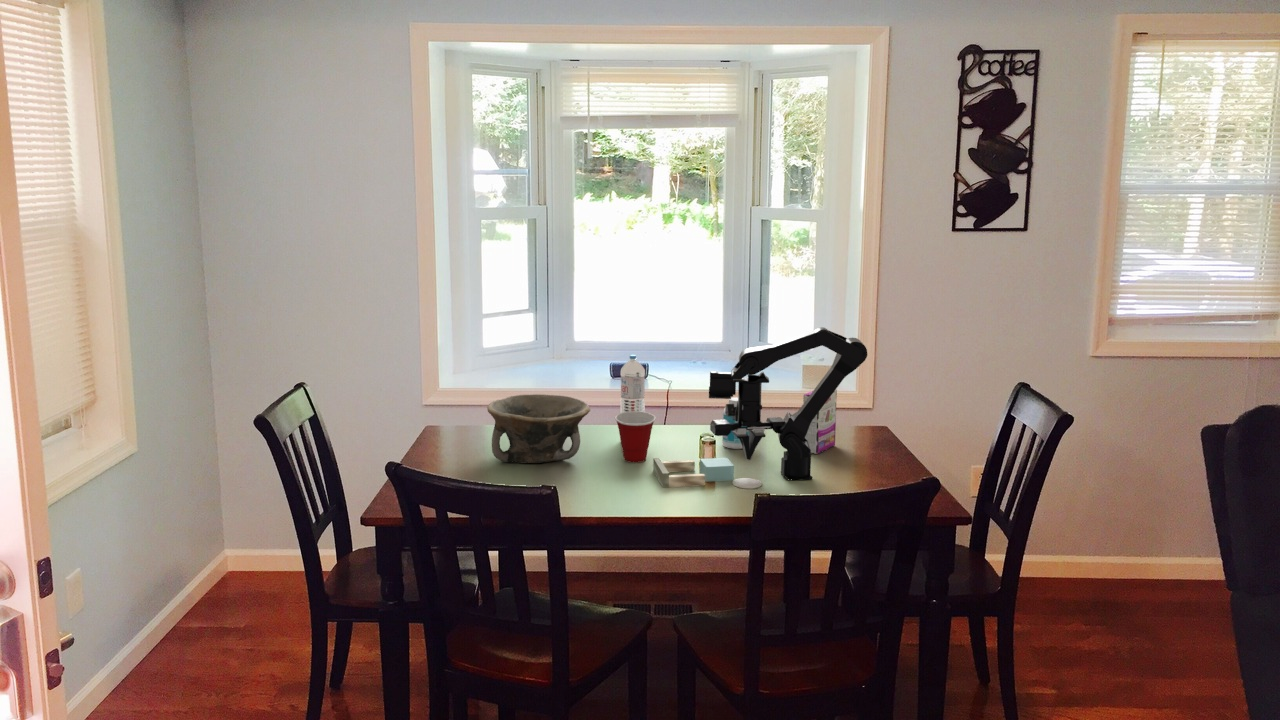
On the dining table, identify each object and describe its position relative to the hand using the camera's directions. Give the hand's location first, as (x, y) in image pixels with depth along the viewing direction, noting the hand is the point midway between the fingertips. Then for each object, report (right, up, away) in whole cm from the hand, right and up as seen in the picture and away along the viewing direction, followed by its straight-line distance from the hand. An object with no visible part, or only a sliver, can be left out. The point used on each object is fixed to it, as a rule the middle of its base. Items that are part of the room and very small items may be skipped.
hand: (748, 459), depth 246 cm
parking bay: (-17, -4, -2) cm, 18 cm away
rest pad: (-1, -5, -6) cm, 8 cm away
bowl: (-54, -1, +14) cm, 56 cm away
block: (-8, -5, 0) cm, 9 cm away
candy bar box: (+22, 0, +25) cm, 33 cm away
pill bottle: (0, +1, +27) cm, 27 cm away
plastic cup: (-29, -2, +13) cm, 31 cm away
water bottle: (-29, +2, +30) cm, 42 cm away
